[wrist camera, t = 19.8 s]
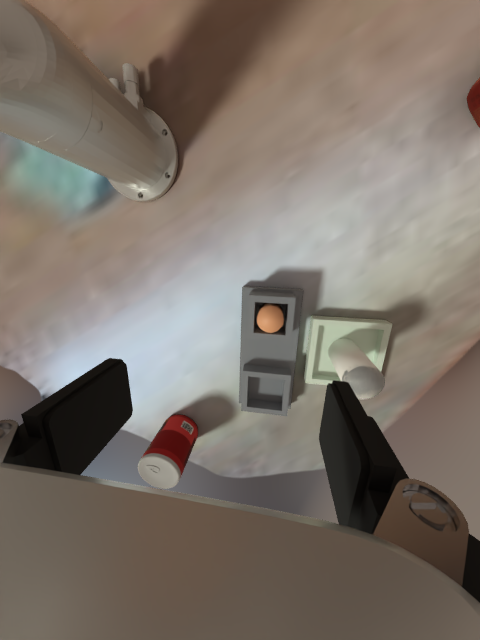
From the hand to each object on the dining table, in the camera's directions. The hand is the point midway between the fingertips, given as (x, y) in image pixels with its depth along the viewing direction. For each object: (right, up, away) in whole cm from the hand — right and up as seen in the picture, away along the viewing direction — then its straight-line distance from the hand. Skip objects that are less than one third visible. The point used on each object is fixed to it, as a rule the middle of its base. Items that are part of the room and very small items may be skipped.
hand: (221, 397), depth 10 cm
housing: (+6, -2, +32) cm, 32 cm away
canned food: (-12, -21, +40) cm, 47 cm away
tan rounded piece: (+6, +5, +27) cm, 28 cm away
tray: (+19, -2, +30) cm, 35 cm away
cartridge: (+19, -2, +29) cm, 35 cm away
